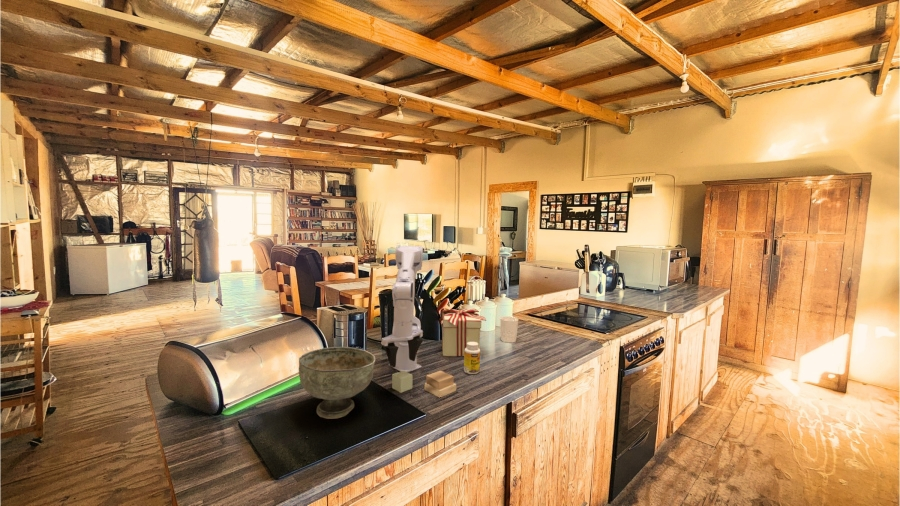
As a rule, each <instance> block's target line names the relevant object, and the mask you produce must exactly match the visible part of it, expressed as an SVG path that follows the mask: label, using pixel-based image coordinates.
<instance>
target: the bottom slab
mask: <svg viewBox="0 0 900 506" xmlns="http://www.w3.org/2000/svg"><path fill="white" fill-rule="evenodd" d="M424 391H426V392H427V393H430V394H432V395H433V396H435V397H438V398H440V397H441V398H443V397H445V396H448V395H450V394H453V393H455V392H456V391H457V383H455V382H453V385H450V386H448V387H445V388H443V389H440V390H438V389H436V388H435V387H433V386H431V385H429V384H427V383H426V382H424Z"/></svg>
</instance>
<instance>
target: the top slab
mask: <svg viewBox="0 0 900 506" xmlns="http://www.w3.org/2000/svg"><path fill="white" fill-rule="evenodd" d="M425 377H426V378H425V379H426V380H425V381H426V382H425V383H427V384H429V385H431V386H433V387H435V388H436V389H438V390H440V389H443V388H445V387H448V386H450V385H453V383H455V382H454V379H455V378H454V376H453V375H451V374H449V373H447V372H444V371H443V370H438V371H436V372H433V373H430V374H427V375H426V376H425Z"/></svg>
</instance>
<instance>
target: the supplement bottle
mask: <svg viewBox="0 0 900 506" xmlns="http://www.w3.org/2000/svg"><path fill="white" fill-rule="evenodd" d="M463 359H464V360H463V371H464V373H465V374H469V375H476V374H478V373H479V372H480V365H481V349H480V347H479V348H478V343H477V342H468V343H467V347H466V348H465V351H464V358H463Z"/></svg>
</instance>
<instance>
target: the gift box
mask: <svg viewBox="0 0 900 506" xmlns="http://www.w3.org/2000/svg"><path fill="white" fill-rule="evenodd" d="M441 312H442V339H441V341H442V343H441V345H442V346H441V347H442V357H457V356H464V351H465V348H466V347H467V343H468V342H477V343H478V348H479V349H480V343H481V342H480V341H481V329H482V321H485V322H486V321H487V319H486V317H485V316H481V315H480V314H479V313H480V311H479V310H478V309H477V308H471V309H467V308H466V309H461V310H460V309H459V310H458V309H451V308H450V309H443V310H442V311H441Z"/></svg>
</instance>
